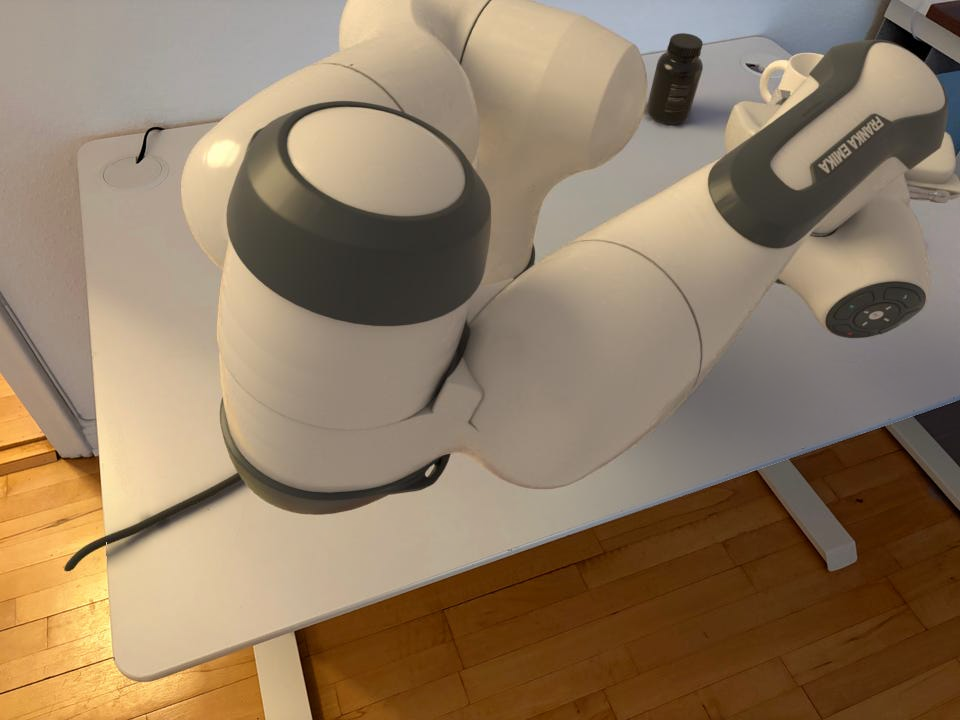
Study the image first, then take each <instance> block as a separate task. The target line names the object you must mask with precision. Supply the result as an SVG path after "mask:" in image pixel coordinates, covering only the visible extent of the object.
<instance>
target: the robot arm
mask: <svg viewBox="0 0 960 720" xmlns="http://www.w3.org/2000/svg"><path fill="white" fill-rule="evenodd" d="M338 49H339V51H338V52H336V53H333V54H331V55H329V56H327V57H324V58H322V59H320V60H317V61H316V62H314V63H312V64H309V65H307V66H305V67H303V68H301V69H299V70H296V71H295V72H293V73H291V74H289V75H286V76H284V77H283V78H281V79H279V80H277V81H276V82H273V84H270V85H268V86H267V87H265V88H264V89H262V90H260V91H259V92H258V93H256V94H255V95H253V96H252V97H251V98H249V99H247V100H246V101H244V102H243V103H241V104H240V105H239V106H238V107H236V108H235V109H234V110H232V111H231V112H230V113H229V114H227V115H226V116H225V117H223V118H222V119H221V120H220V121H219V122H218V123H216V124H215V126H213V127H212V128H211V129H210V130H209V131H208V132H206V133H205V134H204V135H203V136H202V137H201V138H200V139H199V140H198V141H197V143H196V144H195V145H194V146H193V147H192V149H191V151H190V153H189V154H188V156H187V159H186V161H185V162H184V163H185V164H184V166H183V170H182V174H181V179H180V196H181V197H180V198H181V206H182V209H183V213H184V216H185V220H186V222H187V225H188V228H189V229H190V232H191V233H192V236H193V238H194V239H195V241H196V242H197V244H198V245H199V247H200V248H201V250H202V251H203V252H204V254H205V255H206V256H207V257H208V258H209V259H210V261H211V262H212V263H214V265H216V266H217V268H218V269H220V270H222V274H221V280H220V288H219V296H218V306H217V320H216V341H217V346H218V351H219V352H218V353H219V354H218V357H219V358H218V362H219V374H220V378H219V379H220V387H221V393H222V397H221V401H220V404H219V405H220V406H219V424H220V429H221V434H222V438H223V441H224V445H225V448H226V450H227V453H228V456H229V458H230V461H231V462H232V465H233V467H234V468H235V470H236V473H234V474H233V475H231V476H229V477H226V479H224V480H222V481H220V482H218V483H217V484H215V485H213V486H211V487H209V488H206V489H204V490H203V491H201V492H199V493H197V494H195V495H193V496H191V497H188V498H187V499H185V500H183V501H181V502H179V503H176V504H174V505H172V506H170V507H168V508H166V509H164V510H161V511H160V512H158V513H156V514H153V515H152V516H149V517H147V518H146V519H144V520H141V521H139V522H137V523H134V524H133V525H131V526H128V527H126V528H123V529H121V530H118V531H115V532H112V533H110V534H107V535H104V536H102V537H100V538H98V539H95V540H94V541H91V542H89V543H88V544H86V545H84V546H83V547H82V548H81V549H79V550H77V551H76V552H75V553H74V554H73V555H72V556H71V557H70V558H69V560H68V561H67V562H66V563H65V565H64V567H63V570H64V572H71V571H73V570H74V569H75V568H76V567H77V566H78V564H79V563H80V562H81V561H82V560H83V559H85V557H87V556H89V555H90V554H92V553H93V552H95V551H97V550H99V549H101V548H103V547H105V546H108V545H111V544H113V543H116V542H119V541H121V540H123V539H126V538H129V537H131V536H134V535H136V534H138V533H140V532H142V531H144V530H146V529H148V528H150V527H152V526H155V525H157V524H158V523H160V522H162V521H165V520H166V519H168V518H170V517H173V516H174V515H177V514H179V513H181V512H183V511H185V510H187V509H190V508H191V507H193V506H196V505H197V504H199V503H201V502H203V501H206V500H208V499H209V498H212V497H214V496H215V495H217V494H219V493H221V492H222V491H225V490H227V488H229V487H232V486H233V485H235V484H237V483H239V482H240V481H243V482H244V484H245V485H246V486H247V487H248V489H249V490H250V491H252V492H253V494H255V495H256V496H257V497H258V498H260V499H261V500H263V501H264V502H265V503H267V504H269V505H272V506H273V507H275V508H278V509H281V510H283V511H287V512H290V513H294V514H299V515H309V516H310V515H311V516H313V515H314V516H321V515H322V516H324V515H332V514H339V513H344V512H345V513H346V512H348V511H353V510H356V509H359V508H362V507H365V506H368V505H370V504H372V503H375V502H377V501H380V500H381V499H384V498H385V497H388V496H392V495H397V494H405V493H415V492H419V491H422V490H424V489H427V488H429V487H431V486H433V485H435V483H436V482H437V481H438V480H439V479H440V477H441V476H442V475H443V473H444V471H445V469H446V468H447V465H448V464H449V460H450V458H451V456H452V455H451V454H460V455H463V456H466V457H468V458H470V459H472V460H473V461H474V462H476V463H477V464H478V465H479V466H480V467H482V468H483V469H484V470H485V471H487V472H488V473H490V474H491V475H492V476H494V477H496V478H497V479H500V480H501V481H504V482H505V483H509V484H510V485H514V486H517V487H520V488H525V489H531V490H553V489H559V488H563V487H566V486H569V485H572V484H574V483H577V482H579V481H581V480H583V479H585V478H586V477H589V476H590V475H591V474H593V473H595V472H597V471H598V470H600V469H602V468H603V467H606V465H608V464H610V463H611V462H613V461H614V460H616V459H617V458H619V457H620V456H622V455H624V454H625V453H626V452H628V451H629V450H630V449H632V448H633V447H634V446H636V444H638V443H639V442H641V441H642V440H643V439H645V438H646V437H648V436H649V435H650V434H651V433H652V432H653V431H655V429H657V428H658V427H659V426H661V424H662V423H664V422H665V421H666V420H667V419H668V418H669V417H670V416H671V415H672V414H673V413H674V412H675V411H676V410H677V409H678V408H679V407H680V406H681V405H682V404H683V403H684V402H685V401H686V400H687V399H688V398H689V397H690V395H691V394H692V393H693V392H694V391H695V390H697V388H698V387H699V385H700V384H701V383H702V382H703V380H705V378H706V377H707V375H708V374H709V373H710V372H711V370H712V369H713V368H714V366H715V365H716V364H717V362H718V361H719V360H720V358H721V357H722V356H723V354H725V352H726V351H727V349H728V348H729V346H730V345H731V344H732V343H733V341H734V340H735V338H736V337H737V336H738V334H739V332H740V331H741V330H742V329H743V326H745V324H746V322H747V321H748V319H749V318H750V317H751V315H752V314H753V313H754V311H755V309H756V308H757V307H758V305H759V304H761V302H762V300H763V299H764V297H765V296H766V295H767V294H768V292H769V291H770V290H771V288H772V287H773V285H774V284H779V285H782V286H787V287H789V288H790V289H791V291H793V292H794V293H796V294H797V295H798V296H799V297H800V298H801V299H802V300H803V301H804V302H805V304H806V305H807V306H808V308H809V309H810V311H811V312H812V314H813V316H814V317H815V320H816V321H817V322H818V323H819V324H820V326H821V327H822V328H823V329H824V330H826V331H827V332H829V333H831V334H833V335H835V336H836V337H840V338H844V339H865V338H871V337H875V336H878V335H883V334H885V333H888V332H890V331H892V330H895V329H896V328H898V327H900V326H901V325H903V324H905V323H906V322H908V321H909V320H911V319H913V317H915V316H916V315H918V313H920V312H921V311H922V310H923V309H924V307H925V306H926V304H927V301H928V299H929V296H930V291H931V285H932V283H931V281H932V280H931V266H930V260H929V255H928V249H927V246H926V242H925V236H924V234H923V231H922V227H921V224H920V221H919V219H918V217H917V215H916V214H915V212H914V211H913V210H912V209H911V207H910V206H911V201H920V202H921V201H923V202H924V201H929V202H931V203H936V204H946V203H947V202H948V201H951V200H956V199H958V198H960V179H959V177H958V175H957V174H956V173H955V169H956V167H957V166H956V165H957V158H956V152H955V146H954V141H953V138H952V136H951V134H949V133H948V132H947V131H946V128H947V123H948V115H949V114H948V113H949V99H948V97H949V96H948V94H947V91H946V89H945V87H944V85H943V83H942V82H941V80H940V79H939V77H938V76H937V75H936V73H935V72H934V71H933V70H932V68H930V67H929V65H928V64H926V63H925V61H923V60H922V59H920V58H919V56H917V55H916V54H914V53H913V52H911V51H910V50H908V49H907V48H905V47H903V46H902V45H900V44H898V43H895V42H893V41H890V40H886V39H866V40H865V39H864V40H856V41H851V42H846V43H842V44H838V45H833V46H831V47H830V48H829V49H828V51H827V52H826V53H825V54H823V55H824V57H823V58H822V59H821V60H820V61H819V62H818V64H817V65H816V66H815V67H814V68H813V69H812V71H811V72H810V73H809V74H810V75H809V76H808V77H807V79H806V80H805V81H804V82H803V83H802V84H801V85H800V86H799V87H798V88H797V89H796V90H795V91H794V92H793V93H792V95H790V93H791V92H790V91H786V90H780V89H778V88H775V89H774V90H773V92H772V97H771V100H770V101H769V102H768V103H764V102H758V101H757V102H756V101H749V100H741V101H740V102H738V103H736V104H735V105H734V106H733V108H732V109H731V112H730V114H729V117H728V120H727V122H726V125H725V129H724V134H723V138H724V139H723V141H724V148H725V154H724V155H722V156H720V157H718V158H715V159H714V160H713V161H711V162H709V163H707V164H704V165H703V166H701V167H700V168H698V169H696V170H695V171H693V172H692V173H690V174H688V175H687V176H685V177H683V178H682V179H680V180H678V181H677V182H674V183H673V184H671V185H669V186H668V187H666V188H665V189H663V190H661V191H660V192H658V193H656V194H655V195H653V196H651V197H649V198H647V199H645V200H644V201H642V202H640V203H638V204H636V205H634V206H632V207H631V208H629V209H627V210H624V211H623V212H621V213H619V214H618V215H615V216H613V217H612V218H610V219H608V220H607V221H605V222H603V223H601V224H600V225H598V226H596V227H594V228H592V229H590V230H588V231H587V232H584V233H583V234H581V235H580V236H578V237H576V238H574V239H573V240H571V241H569V242H567V243H565V244H564V245H562V246H561V247H559V248H558V249H556V250H555V251H553V252H551V253H550V254H548V255H547V256H545V257H543V258H541V259H540V260H539V261H537V262H536V263H535V261H536V247H535V244H534V239H535V234H536V229H537V224H538V221H539V216H540V213H541V209H542V205H543V203H544V200H545V199H546V197H547V196H548V194H549V193H550V192H551V190H552V189H553V188H554V187H555V186H556V185H558V184H559V183H560V182H562V181H563V180H565V179H567V178H569V177H570V176H571V177H572V176H573V175H577V174H578V173H582V172H586V171H590V170H594V169H597V168H598V167H601V166H603V165H605V164H606V163H607V162H609V161H611V160H612V159H613V158H615V157H616V156H617V155H618V154H619V153H620V152H622V150H624V148H625V147H626V146H627V145H628V144H629V142H630V141H631V140H632V138H633V137H634V136H635V134H636V132H637V131H638V128H639V127H640V124H641V122H642V119H643V116H644V113H645V111H646V107H647V101H648V100H647V99H648V76H647V75H648V74H647V70H646V65H645V62H644V60H643V59H644V58H643V56H642V53H641V52H640V49H639V47H638V46H637V45H636V44H635V43H633V42H632V41H630V40H628V39H627V38H625V37H623V36H621V35H620V34H618V33H616V32H615V31H613V30H611V29H609V28H608V27H606V26H604V25H602V24H600V23H598V22H597V21H595V20H593V19H591V18H589V17H587V16H585V15H582V14H578V13H576V12H572V11H568V10H566V9H565V10H564V9H562V8H558V7H554V6H551V5H548V4H544V3H541V2H538V1H534V0H346V3H345V5H344V7H343V10H342V13H341V16H340V21H339V28H338ZM432 466H433V468H432V470H431V471H430V473H429V475H428V476H426V472H427V471H428V470H429V469H430V468H431V467H432ZM106 542H107V545H106Z"/></svg>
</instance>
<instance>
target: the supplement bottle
mask: <svg viewBox="0 0 960 720" xmlns="http://www.w3.org/2000/svg"><path fill="white" fill-rule="evenodd" d="M703 45H704V42H703V40H702V39H701V38H700V37H698V36H697V35H695V34H692V33H686V32H685V33H684V32H680V33H679V32H678V33H675V34H673V35H672V36H670V39H669V41H668V45H667V48H666V51H665V52H663V53H662V54H661V55H660V56H659V58H658V60H657V63H656V67H655V71H654V76H653V79H652V83H651V88H650V92H649V94H648V95H649V96H648V98H647V99H648V100H647V103H646V112H647V115H648V116H649V118H651V119H652V120H654V121H656V122H658V123H661V124H666V125H678V124H681V123H684V122H685V121H686V120H687V119H688V118H689V116H690V113H691V111H692V107H693V103H694V100H695V96H696V93H697V89H698V86H699V83H700V80H701V77H702V73H703V69H704V66H703V62H702V59H701V58H700V56H701V53H702V48H703Z"/></svg>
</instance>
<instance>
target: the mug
mask: <svg viewBox="0 0 960 720" xmlns="http://www.w3.org/2000/svg"><path fill="white" fill-rule="evenodd" d="M824 55H825V54H821V53H817V52H816V53H814V52H801V53H796V54H794V55H792V56H791V57H790V58H789V60H788V59H778V60H775V61H773V62H771V63H770V64H768V65H767V66H766V68H765V69H764V70H763V72H762V73H761V76H760V80H759V93H760V96H761V98H762V100H763V102H765V104H767V103H768V102H769V101H770V100H771V97H772V95H773V93H771V91H770V89H769V83H770V78H771V76H772V75H773V74H774V73H775V72H776V71H783V75H782V78H781V79H780V82H779V85H778V87H777V89H780V90H786V91H790V92H791V93H790V95H792V93H793V92H794V91H795V90H796V89H797V88H798V87H799V86H800V85H801V84H802V83H803V82H804V81H805V80H806V79H807V77H808V76H809V75H810V74H809V73H810V72H811V71H812V69H813V68H814V67H815V66H816V65H817V64H818V62H819V61H820V60H821V59H822V58H823V57H824Z"/></svg>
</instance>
